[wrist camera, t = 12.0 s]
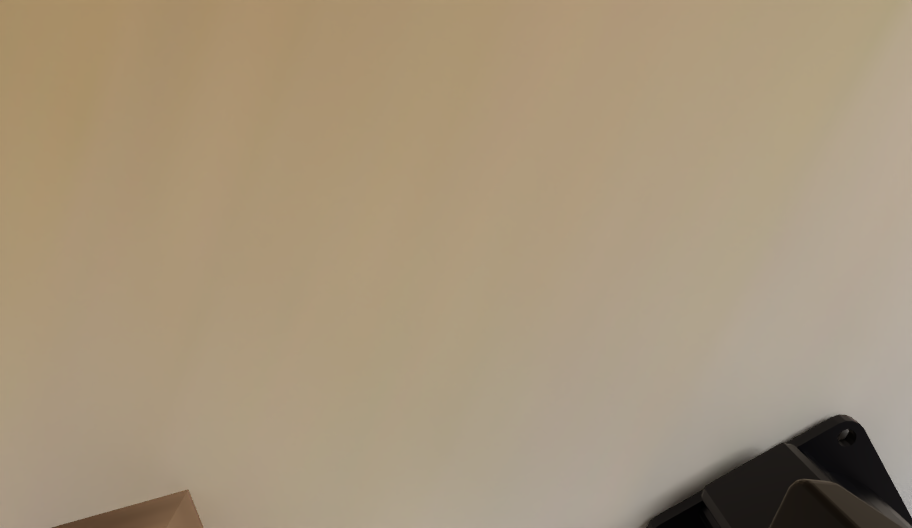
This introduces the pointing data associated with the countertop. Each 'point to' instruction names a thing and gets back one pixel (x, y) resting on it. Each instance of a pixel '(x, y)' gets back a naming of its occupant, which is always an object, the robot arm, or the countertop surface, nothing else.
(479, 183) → the countertop surface
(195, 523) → the walnut block
